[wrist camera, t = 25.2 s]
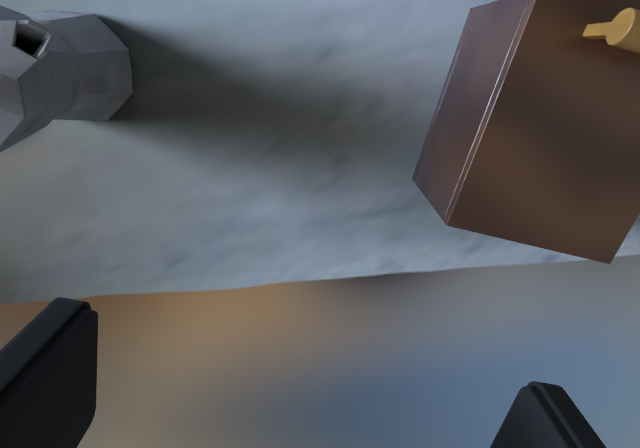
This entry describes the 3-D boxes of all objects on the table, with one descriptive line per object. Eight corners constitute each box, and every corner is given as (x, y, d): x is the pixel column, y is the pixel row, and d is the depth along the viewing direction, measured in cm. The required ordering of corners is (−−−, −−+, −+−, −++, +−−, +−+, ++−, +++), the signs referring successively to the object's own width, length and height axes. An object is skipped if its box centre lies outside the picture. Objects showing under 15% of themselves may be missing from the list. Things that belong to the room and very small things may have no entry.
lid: (539, -27, 24) (591, -45, 20) (732, 32, 25) (824, 27, 21) (443, 221, 30) (465, 252, 25) (603, 259, 31) (652, 295, 27)
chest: (470, 8, 35) (532, -11, 25) (609, 48, 36) (722, 46, 26) (411, 179, 40) (442, 220, 30) (533, 209, 41) (602, 258, 31)
